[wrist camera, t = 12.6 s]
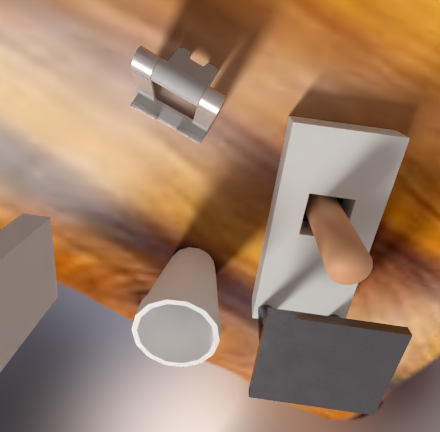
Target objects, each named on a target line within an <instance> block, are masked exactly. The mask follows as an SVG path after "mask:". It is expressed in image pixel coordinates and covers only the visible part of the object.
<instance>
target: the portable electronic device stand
mask: <svg viewBox="0 0 440 432" xmlns="http://www.w3.org/2000/svg"><path fill="white" fill-rule="evenodd" d="M190 56H191V52H190V51H188V50H186V49H185V48H182V47H179V48H178V50H177V51H176V52H175V53H174V54H173V55H172V56H171V58H170V59H169V60H168V61H166V60H165V59H163V58H161V57H159V56H158V55H156V54H154V53H153V52H151V51H149V50H148V49H146V48H144V47H143V46H140V47H139V48H138V50H137V51H136V53H135V55H134V57H133V60H132V63H131V69H132V72H133V75H134V78H135V81H136V84H137V87H138V94H137V96H136V98H135V100H134V101H133V102H132V103H131V106H133V107H134V108H136V109H138V110H140V111H141V112H143V113H145V114H147V115H149V116H150V117H152V118H154V119H158V120H159V121H161V122H163V123H165V124H166V125H168V126H170V127H172V128H174V129H175V130H176V131H177V132H179V133H181V134H183V135H184V136H186V137H188V138H190V139H191V140H193V141H195V142H197V143H199V144H201V142H202V140H203V138H204V136H205V134H206V132H207V131H208V129H209V127H210V125H211V124H212V122H213V120H214V119H215V117H216V115H217V113H218V111H219V110H220V108H221V106H222V104H223V102H224V100H225V98H226V96H225V95H224V94H222V93H220V92H219V91H217V90H215V89H214V88H212V87H210V85H211V83H212V81H213V80H214V78H215V76H216V75H217V73H218V69H217V68H216V67H214V66H213V65H211V64H209V63H208V64H207V65H205V66H201V65H199V64H197V63H196V62H194V61H192V60H191V59H190ZM153 81H154V82H155V83H157V84H159V85H160V86H162V87H164V88H166V89H167V90H169V91H171V92H173V93H174V94H176V95H178V96H179V97H181V98H183V99H185V100H186V101H188V102H190V103H192V104H193V105H195V106H197V109H196V112H195V116H194V119H191V118H189V117H187V116H186V115H184V114H182V113H180V112H179V111H177V110H175V109H173V108H172V107H170V106H168V105H166V104H165V103H163V102H161V101H159V100H158V99H156V97H155V92H154V87H153Z"/></svg>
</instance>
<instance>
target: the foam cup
mask: <svg viewBox="0 0 440 432" xmlns="http://www.w3.org/2000/svg"><path fill="white" fill-rule="evenodd" d="M132 333H133V336H134V339H135V343H136V345H137V346H138V347H139V348H140V349H141V350H142V351H143V352H144V353H145V354H146V355H147V356H148V357H150V358H151V359H154V360H156V361H158V362H160V363H162V364H164V365H171V366H178V367H186V366H190V365H195V364H200V363H202V362H203V361H205V360H206V359H207V358H209V357H210V356H212V355H213V354H214V352H215V350H216V348H217V346H218V343H219V341H220V333H221V320H220V314H219V310H218V298H217V285H216V273H215V266H214V261H213V259H212V258H211V257H210V255H209V254H208V253H206V252H205V251H203V250H201V249H199V248H191V247H188V248H185V249H181V250H179V251H178V252H177V253H176V254H174V255H173V257H172V258H171V259H170V261H169V262H168V264H167V265H166V267H165V269H164V270H163V272H162V273H161V275H160V276H159V278H158V279H157V281H156V283H155V284H154V286H153V287H152V289H151V290H150V292H149V293H148V295H147V296H146V297H145V298H144V299H143V300H142V301H141V303H140V306H139V308H138V311H137V313H136V315H135V319H134V323H133V326H132Z"/></svg>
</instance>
